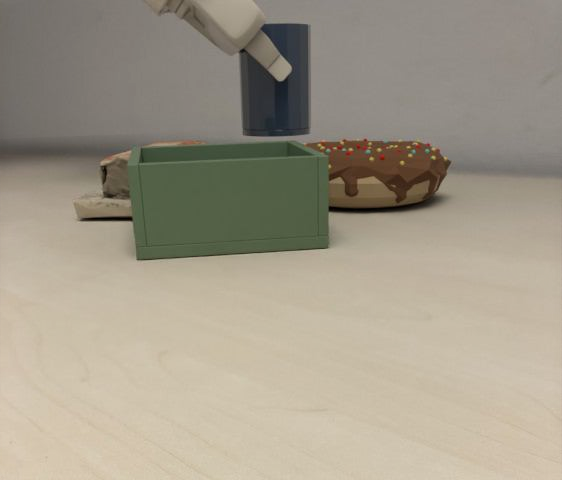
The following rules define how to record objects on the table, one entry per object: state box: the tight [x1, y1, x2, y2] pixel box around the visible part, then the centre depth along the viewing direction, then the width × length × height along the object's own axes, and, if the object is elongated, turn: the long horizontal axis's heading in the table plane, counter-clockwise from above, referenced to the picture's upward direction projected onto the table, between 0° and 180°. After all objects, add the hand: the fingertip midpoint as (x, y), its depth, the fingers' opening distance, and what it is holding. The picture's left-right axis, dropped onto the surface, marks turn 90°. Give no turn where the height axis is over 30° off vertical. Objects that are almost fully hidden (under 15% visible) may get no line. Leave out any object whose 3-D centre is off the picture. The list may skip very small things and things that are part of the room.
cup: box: [238, 22, 312, 138], centre depth 70 cm, size 7×7×10 cm
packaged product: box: [72, 140, 208, 219], centre depth 63 cm, size 18×5×10 cm
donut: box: [302, 137, 452, 209], centre depth 61 cm, size 14×14×5 cm
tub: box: [127, 140, 330, 260], centre depth 49 cm, size 12×11×6 cm
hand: (281, 76), depth 70 cm, fingers closed on cup, 7 cm apart
